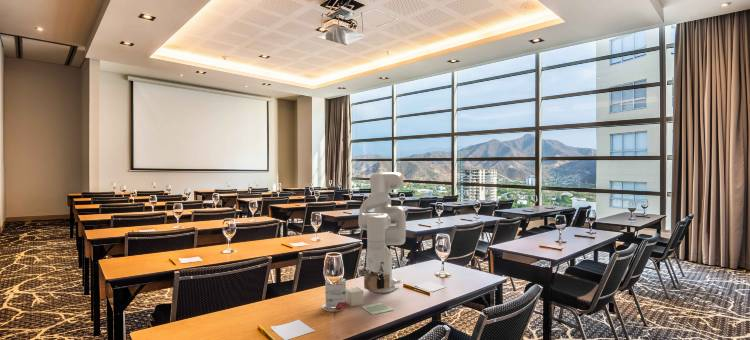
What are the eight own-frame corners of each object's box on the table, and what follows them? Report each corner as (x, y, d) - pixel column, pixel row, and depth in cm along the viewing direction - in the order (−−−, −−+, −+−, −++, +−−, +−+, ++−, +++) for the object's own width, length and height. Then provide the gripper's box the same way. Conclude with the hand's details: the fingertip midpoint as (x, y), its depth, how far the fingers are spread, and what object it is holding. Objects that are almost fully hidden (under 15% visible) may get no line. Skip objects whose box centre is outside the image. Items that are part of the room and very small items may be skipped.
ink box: (346, 304, 177) (345, 277, 176) (345, 308, 172) (344, 281, 171) (327, 304, 177) (326, 278, 176) (325, 308, 172) (325, 281, 171)
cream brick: (357, 299, 182) (357, 286, 182) (363, 303, 177) (363, 290, 177) (345, 302, 180) (345, 289, 179) (351, 306, 174) (351, 292, 174)
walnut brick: (364, 288, 170) (364, 274, 170) (381, 284, 175) (381, 271, 175) (371, 291, 165) (371, 277, 165) (389, 288, 170) (389, 274, 170)
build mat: (381, 303, 177) (381, 302, 177) (393, 310, 168) (393, 309, 168) (361, 307, 172) (361, 306, 172) (372, 315, 163) (372, 314, 163)
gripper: (359, 242, 175) (360, 282, 176) (378, 248, 160) (378, 293, 160) (374, 240, 179) (374, 280, 179) (394, 246, 164) (394, 290, 164)
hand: (376, 285), depth 170 cm, fingers closed on walnut brick, 6 cm apart
